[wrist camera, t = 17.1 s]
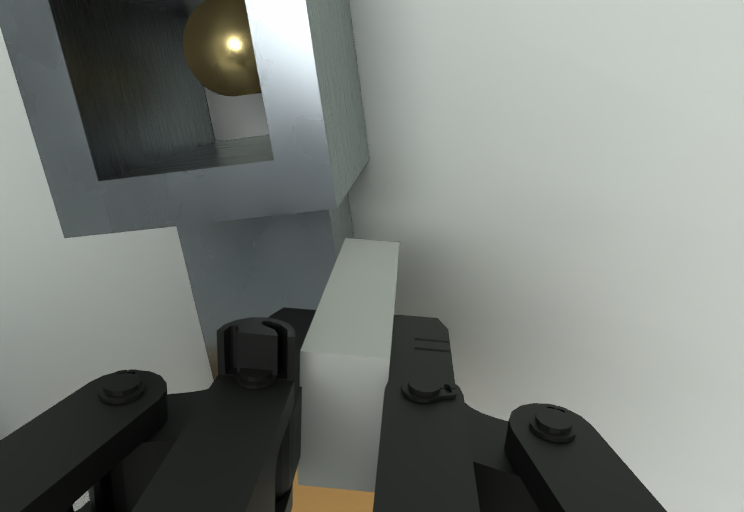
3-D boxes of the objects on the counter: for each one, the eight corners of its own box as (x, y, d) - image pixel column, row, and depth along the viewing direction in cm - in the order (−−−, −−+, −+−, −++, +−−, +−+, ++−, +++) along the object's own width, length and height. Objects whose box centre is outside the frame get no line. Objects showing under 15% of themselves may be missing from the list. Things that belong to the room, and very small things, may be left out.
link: (398, 378, 24) (385, 522, 16) (237, 388, 25) (153, 531, 17) (342, -52, 19) (285, -133, 11) (144, -19, 20) (-31, -73, 12)
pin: (256, 91, 21) (191, 99, 15) (247, 20, 20) (175, -1, 14) (321, 86, 20) (280, 93, 15) (314, 13, 20) (268, -9, 14)
